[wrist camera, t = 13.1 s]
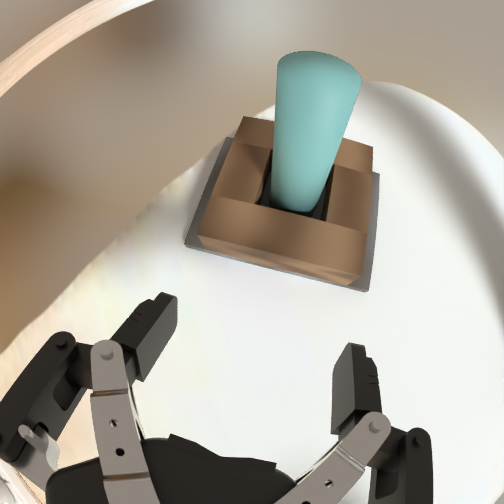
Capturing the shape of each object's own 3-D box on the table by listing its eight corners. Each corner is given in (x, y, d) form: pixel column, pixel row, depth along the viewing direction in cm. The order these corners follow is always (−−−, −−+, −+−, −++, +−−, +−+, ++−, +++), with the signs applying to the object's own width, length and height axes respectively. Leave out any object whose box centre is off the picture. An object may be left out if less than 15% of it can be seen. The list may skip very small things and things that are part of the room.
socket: (376, 177, 25) (392, 153, 21) (365, 292, 22) (386, 282, 18) (227, 141, 27) (222, 113, 23) (186, 246, 23) (172, 228, 19)
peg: (317, 191, 24) (360, 62, 11) (310, 230, 23) (361, 105, 9) (275, 180, 24) (285, 45, 11) (264, 219, 23) (269, 84, 10)
